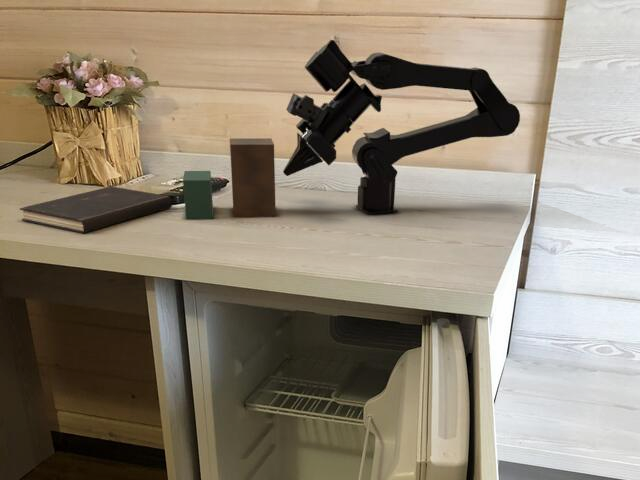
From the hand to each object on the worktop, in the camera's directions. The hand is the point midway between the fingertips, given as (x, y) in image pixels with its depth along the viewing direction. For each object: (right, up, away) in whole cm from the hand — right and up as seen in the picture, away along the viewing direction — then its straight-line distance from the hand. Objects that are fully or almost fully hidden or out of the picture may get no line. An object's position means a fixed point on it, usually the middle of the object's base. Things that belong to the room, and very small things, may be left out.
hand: (284, 174), depth 141 cm
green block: (-17, -7, +1) cm, 18 cm away
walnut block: (-6, -6, +3) cm, 9 cm away
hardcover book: (-35, -8, -1) cm, 36 cm away
